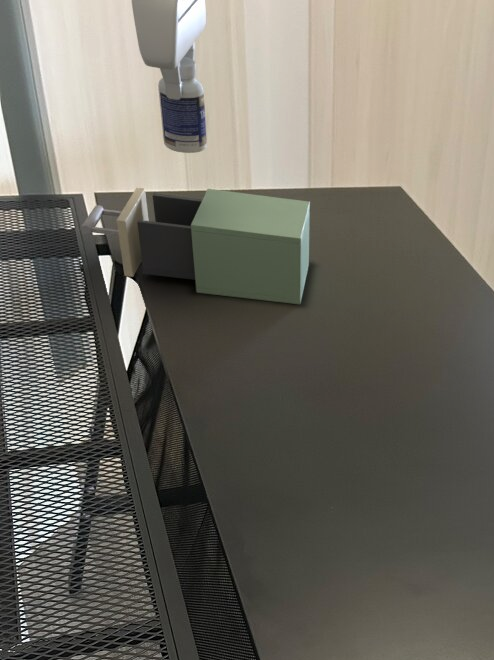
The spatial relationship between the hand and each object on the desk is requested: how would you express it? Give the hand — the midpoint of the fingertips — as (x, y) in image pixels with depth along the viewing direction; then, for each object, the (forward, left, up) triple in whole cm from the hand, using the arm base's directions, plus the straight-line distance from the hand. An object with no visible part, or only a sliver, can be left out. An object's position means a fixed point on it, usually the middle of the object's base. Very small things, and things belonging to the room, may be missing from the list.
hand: (180, 89), depth 106 cm
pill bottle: (0, 0, -7) cm, 7 cm away
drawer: (-5, +3, -24) cm, 25 cm away
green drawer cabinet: (+8, +3, -25) cm, 26 cm away
